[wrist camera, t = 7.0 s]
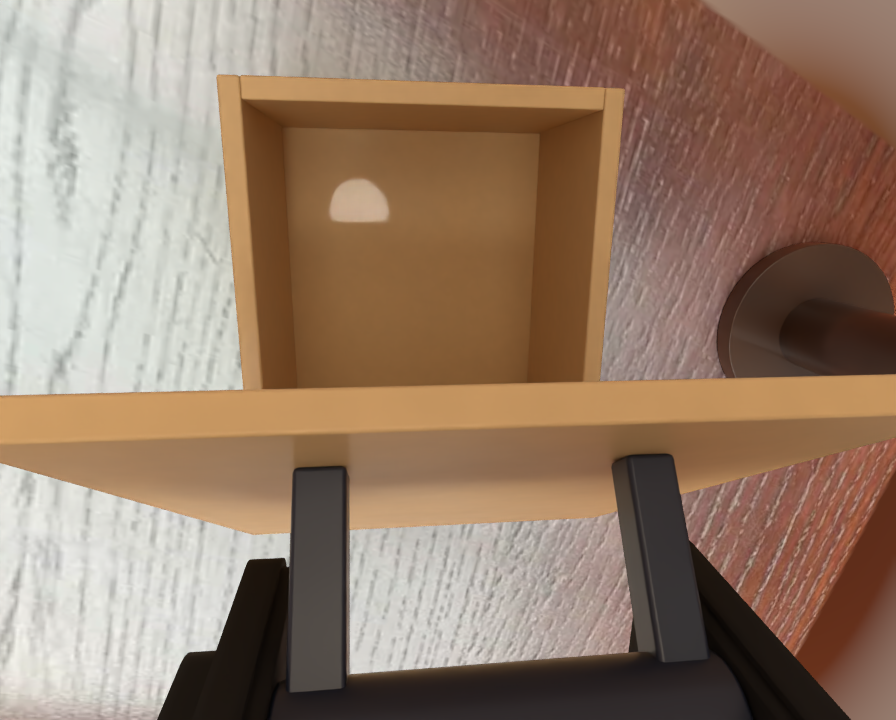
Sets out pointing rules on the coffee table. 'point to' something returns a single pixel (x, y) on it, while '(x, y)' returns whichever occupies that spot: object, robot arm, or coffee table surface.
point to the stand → (809, 316)
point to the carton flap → (461, 508)
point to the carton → (418, 229)
